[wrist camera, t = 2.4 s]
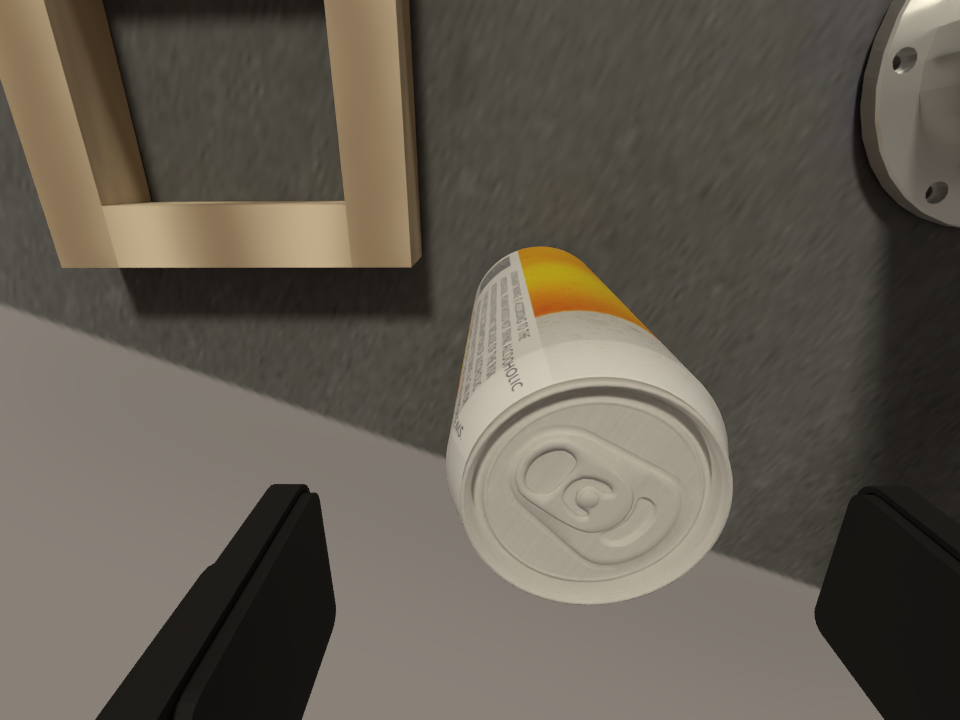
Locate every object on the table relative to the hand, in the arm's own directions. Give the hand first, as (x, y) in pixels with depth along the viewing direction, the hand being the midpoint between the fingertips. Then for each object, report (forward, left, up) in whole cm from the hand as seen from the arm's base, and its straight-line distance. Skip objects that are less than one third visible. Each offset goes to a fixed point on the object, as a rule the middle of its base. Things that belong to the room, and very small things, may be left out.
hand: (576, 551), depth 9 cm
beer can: (-1, 0, -16) cm, 16 cm away
